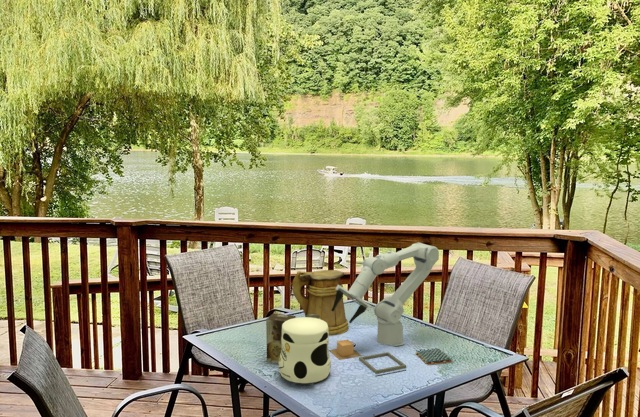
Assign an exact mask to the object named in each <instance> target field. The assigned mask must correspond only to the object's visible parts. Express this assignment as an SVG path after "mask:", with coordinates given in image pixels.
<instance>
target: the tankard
mask: <svg viewBox="0 0 640 417" xmlns="http://www.w3.org/2000/svg"><path fill="white" fill-rule="evenodd" d="M344 275H345V272H344V271H341V270H337V269H324V270H316V271H315V270H314V271H309V272H308V271H302V270H297V271H296V275H295V276H294V278H293V280H292V284H291V286H292V288H291V289H292V293H293V295H294V298H295V299H296V301H297V303H298V304H299V305H300V306H301V308H302V310H303V313H304V317H305V316H306V315H309V314H316V315H319V316H320V319H321V320H323V321H325V322H326V323H327V325H328V331H329V335H328V337H330V336H337V335H343V334H345V333H347V332H348V331H349V329H350V328H349V327H350V326H349V322H348V319H347V317H346V311H345V310H346V309H345V304H344V296H343V297H342V299H341V300H340V302H339V303H338V305H337V306H336V308H335V310H334V311H331V310H332V308H333V305H334V302H335V298H336V293H337V290H336V289H335V288H336V287H337V285H340V286H341V287H343V288H344V286H343V282H342V281H341V278H342V277H343V276H344ZM306 285H307V286H306ZM304 286H306V288H305V290H306V291H307V292H308V296H306V295H304V294H303V293H302V288H303V287H304Z"/></svg>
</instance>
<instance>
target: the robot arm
mask: <svg viewBox="0 0 640 417" xmlns="http://www.w3.org/2000/svg"><path fill="white" fill-rule="evenodd" d="M439 255H440V251H439V248H438V247H436V246H434V245H429V244H425V243H422V242H415V243H412V244H411V245H410V246H408V247H405V248H403V249H401V250H398V251H396V252H395V251H393V250H387V251H386V253H385V252H384V253H383V254H377V255H376V256H375V257H374V256H368V257H367V258H366V259H363V262H362V268H361V270H360V272H359V274H358V275H357V277H356V279H355V280H354V282H353V283H352V285H351V287H350V288H349V289H346V288H345V287H344V286H343V287H341V286H340V285H337V287H336V288H335V289H336V290H337V293H336V298H335V302H334V305H333V308H332V310H331V311H334V310H335V308H336V306H337V305H338V303H339V302H340V300H341V299H342V297H343V298H344V296H345V297H346V298H348V299H349V300H351V301H353V302H354V303H356V304H357V305H358V308H357V309H356V311H355V313H354V314H353V316H351V318H350V319H349V322H348V324H352V323H353V321H354V320H355V319H357V318H358V317H359V316H360V315H361V314H363V313H365V312H366V311H367V312H369V311H370V310H371V308H372V305H370V304H369V303H367V302H366V301H365V300H363V297H364V296H365V295H366V293H367V291H368V290H369V289H370V287H371V285H372V284H373V282H374V280H375V279H376V277H377V276H378V275H382V274H383V273H384V272H385V271H386V270H387V269H390V268H393V267H395V266H398V264H399V262H400V261H404V260H407V259H410V258H413V262H414V265H415V268H414V269H413V271H412V272H411V273H410V274H409V275H408V276H407V278H406V279H405V280H404V281H403V282H402V284H400V285H399V287H398V288H397V289H396V290H395V291H394V293H393V294H392V295H391V296H387V297H385V298H383V299H382V300H381V301H380V302H378V303H377V304H376V305H375V306H374V309H373V313H374V315H375V317H376V320H377V333H376V334H377V335H376V336H377V340H376V341H377V343H378V344H380V345H385V346H390V345H391V346H393V347H400V346H403V345H404V343H403V342H404V341H403V340H404V326H403V323H402V321H401V320H400V319H401V317H402V315H403V313H404V312H405V310H404V304H405V303H406V302H407V301H408V299H410V297H411V296H412V295H413V294H414V292H415V291H416V290H418V288H419V287H420V285H421V284H423V282H424V281H425V279H426V278H427V277H428V276H429V274H430V273H431V271H432V269H433V267H434V265H436V263H437V261H439V260H440V259H439V258H440V256H439Z"/></svg>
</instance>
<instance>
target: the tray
mask: <svg viewBox="0 0 640 417" xmlns="http://www.w3.org/2000/svg"><path fill="white" fill-rule="evenodd" d="M382 357H389V359H391V360H392V361H394V362H395V363H396V364H398V365H396V366H390V367H385V368H379V369H376V368H375V367H374V366H373V365H371V364H370V363H369V362H368V361H366V360H373V359H377V358H382ZM358 361H360V363H362V364H363V365H364V366H366V367H367V368H368V369H369V370H371V372H373V373H374V374H375V375H374V377H382V376H386V375H391V374H396V373H402V372H406V371H407V365H406V364H405V363H404V362H402V361H401V360H400V359H398V358H397V357H396V356H394V355H393V354H391V353H390V352H389V351H386V352H381V353H377V354H370V355H365V356H359V357H358ZM403 369H404V370H403Z"/></svg>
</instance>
